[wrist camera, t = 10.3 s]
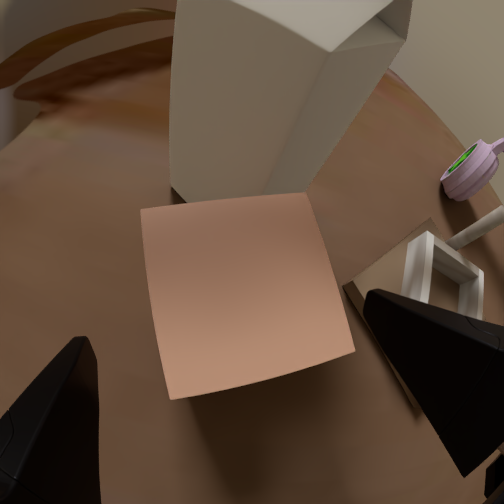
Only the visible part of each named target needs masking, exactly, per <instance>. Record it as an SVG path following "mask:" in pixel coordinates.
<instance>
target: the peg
mask: <svg viewBox="0 0 504 504" xmlns="http://www.w3.org/2000/svg"><path fill="white" fill-rule="evenodd" d="M140 211H141V224H142V236H143V246H144V255H145V264H146V272H147V280H148V287H149V294H150V301H151V307H152V313H153V319H154V325H155V331H156V336H157V342H158V347H159V352H160V357H161V361H162V366H163V371H164V375H165V380H166V384H167V388H168V392H169V396H170V400H173V399H179V398H185V397H190V396H196V395H201V394H206V393H211V392H216V391H221V390H226V389H230V388H235V387H239V386H243V385H247V384H251V383H255V382H259V381H263V380H267V379H270V378H274V377H278V376H281V375H285V374H288V373H292V372H295V371H298V370H302V369H305V368H308V367H311V366H314V365H317V364H320V363H323V362H326V361H329V360H332V359H335V358H338V357H341V356H344V355H346V354H349V353H352V352H354V351H355V348H354V344H353V340H352V336H351V332H350V329H349V325H348V321H347V318H346V314H345V311H344V307H343V304H342V300H341V297H340V293H339V290H338V287H337V283H336V280H335V277H334V273H333V270H332V267H331V264H330V261H329V257H328V254H327V251H326V248H325V245H324V242H323V239H322V236H321V233H320V230H319V227H318V224H317V221H316V219H315V216H314V213H313V210H312V207H311V204H310V202H309V199H308V196H307V193H306V192H302V193H287V194H274V195H262V196H250V197H240V198H230V199H220V200H210V201H201V202H193V203H184V204H176V205H169V206H161V207H154V208H146V209H140Z"/></svg>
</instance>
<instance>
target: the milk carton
mask: <svg viewBox="0 0 504 504" xmlns="http://www.w3.org/2000/svg"><path fill="white" fill-rule="evenodd" d="M411 8H412V0H177V8H176V17H175V27H174V38H173V51H172V67H171V87H170V125H169V158H170V184H171V186H172V187H173V188H174V190H175V191H176V192H177V193H178V194H179V195H180V196H181V197H182V198H183V199H184V200H185V201H186V202H187V203H193V202H201V201H210V200H220V199H230V198H240V197H250V196H262V195H274V194H287V193H302V192H305V191H306V189H307V188H308V186H309V185H310V183H311V182H312V180H313V179H314V178H315V176H316V175H317V173H318V172H319V170H320V169H321V167H322V166H323V164H324V163H325V161H326V160H327V158H328V157H329V155H330V154H331V152H332V151H333V149H334V148H335V146H336V145H337V144H338V142H339V141H340V139H341V138H342V136H343V135H344V133H345V132H346V130H347V129H348V127H349V126H350V124H351V123H352V121H353V120H354V118H355V117H356V115H357V114H358V112H359V111H360V109H361V108H362V106H363V105H364V103H365V102H366V100H367V99H368V97H369V96H370V94H371V93H372V91H373V90H374V88H375V87H376V85H377V84H378V82H379V81H380V79H381V78H382V76H383V75H384V73H385V72H386V70H387V69H388V67H389V65H390V64H391V62H392V61H393V59H394V58H395V56H396V55H397V53H398V52H399V50H400V48H401V47H402V45H403V44H404V43H405V41H406V38H407V34H408V27H409V21H410V15H411Z"/></svg>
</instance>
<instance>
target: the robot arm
mask: <svg viewBox="0 0 504 504" xmlns="http://www.w3.org/2000/svg"><path fill="white" fill-rule="evenodd" d="M363 316H364V318H365V320H366V322H367V324H368V325H369V327H370V329H371V331H372V333H373V334H374V336H375V338H376V340H377V342H378V343H379V345H380V347H381V349H382V350H383V352H384V353H385V355H386V356H387V358H388V359H389V361H390V362H391V363H392V365H393V366H394V368H395V369H396V371H397V372H398V374H399V375H400V377H401V378H402V380H403V381H404V383H405V384H406V386H407V387H408V389H409V390H410V392H411V393H412V395H413V396H414V398H415V400H416V401H417V403H418V404H419V406H420V407H421V409H422V410H423V412H424V414H425V415H426V417H427V418H428V420H429V421H430V423H431V425H432V426H433V428H434V429H435V431H436V433H437V434H438V436H439V438H440V440H441V441H442V443H443V444H444V446H445V448H446V449H447V451H448V453H449V455H450V456H451V458H452V460H453V461H454V463H455V465H456V466H457V468H458V470H459V472H460V473H461V475H462V476H463V477H464V478H465V477H466V476H467V475H468V474H470V473H471V472H472V471H473V470H474V469H476V468H477V467H478V466H479V465H480V464H481V463H482V462H483V461H484V460H486V459H487V458H488V457H489V456H490V455H491V454H492V453H493V452H494V451H495V450H496V449H498V450H499V451H500V452H501V453H500V454H499V455H498V457H497V458H496V459H495V460H494V461H493V462H492V463H491V464H490V465H489V466H488V467H487V468H486V479H485V491H484V495H485V497H486V498H487V500H486V501H485V502H484V503H483V504H504V326H501V325H497V324H493V323H489V322H485V321H482V320H479V319H475V318H472V317H469V316H466V315H465V316H464V315H462V314H459V313H456V312H453V311H450V310H446V309H443V308H440V307H437V306H434V305H430V304H427V303H424V302H421V301H418V300H414V299H411V298H408V297H405V296H402V295H398V294H395V293H392V292H389V291H386V290H382V289H379V288H376V289H372V290H369V291H368V292H367V294H366V298H365V302H364V306H363ZM0 504H101V494H100V479H99V394H98V370H97V359H96V356H95V353H94V351H93V349H92V346H91V344H90V341H89V339H88V337H86V336H78V337H74V338H72V340H71V341H70V342H69V343H68V344H67V345H66V346H65V347H64V348H63V349H62V350H61V351H60V352H59V353H58V354H57V355H56V356H55V357H54V358H53V359H52V361H51V362H50V363H49V364H48V365H47V366H46V367H45V368H44V369H43V370H42V371H41V372H40V374H39V375H38V376H37V377H36V378H35V379H34V380H33V381H32V382H31V384H30V385H29V386H28V387H27V388H26V389H25V390H24V392H23V393H22V394H21V395H20V396H19V397H18V398H17V400H16V401H15V402H14V403H13V404H12V405H11V407H10V408H9V410H7V411H6V413H5V414H4V415H3V416H2V417H1V419H0Z"/></svg>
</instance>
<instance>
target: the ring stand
mask: <svg viewBox="0 0 504 504" xmlns="http://www.w3.org/2000/svg"><path fill="white" fill-rule="evenodd" d="M503 222H504V206H502V205H501V206H499V207H498V208H496V209H495V210H493V211H492V212H490V213H489V214H488V215H486V216H484V217H483V218H481V219H480V220H478V221H477V222H475V223H474V224H472V225H471V226H469V227H468V228H466V229H464V230H463V231H461V232H460V233H458V234H456V235H455V236H453V237H451V238H450V239H448V240H447V241H445V240H444V238H443V236H442V235H441V233H440V232H439V230H438V228H437V227H436V225H435V224H434V222H433V221H432V219H431V217H430V218H429V219H428V220H426V221H425V222H424V223H422V224H421V225H420V226H418V227H417V228H416V229H415V230H414V231H412V232H411V233H410V234H409V235H408V236H406V237H405V238H404V239H403V240H401V241H400V242H399V243H398V244H396V245H395V246H394V247H393V248H391V249H390V250H389V251H388V252H386V253H385V254H384V255H383V256H381V257H380V258H379V259H378V260H376V261H375V262H374V263H372V264H371V265H370V266H368V267H367V268H366V269H364V270H363V271H362V272H361V273H359V274H358V275H357V276H355V277H354V278H352V279H351V280H350V281H348V282H347V283H346V284H344V285H343V288H344V290H345V291H346V293H347V294H348V296H349V298H350V299H351V301H352V302H353V304H354V306H355V307H356V309H357V310H358V312H359V314H360V315H361V317H362V318H363V320H364V322H365V323H366V325H367V327H368V328H369V330H370V332H371V333H372V331H371V329H370V327H369V325H368V324H367V322H366V320H365V318H364V316H363V306H364V302H365V298H366V294H367V292H368V291H369V290H372V289H376V288H379V289H382V290H386V291H389V292H392V293H395V294H398V295H402V296H405V297H408V298H411V299H414V300H418V301H421V302H424V303H427V304H430V305H434V306H437V307H440V308H443V309H446V310H450V311H453V312H456V313H459V314H462V315H464V316H465V315H466V316H469V317H472V318H475V319H479V320H482V321H485V320H486V319H485V316H484V314H483V287H484V272H483V271H481V270H480V269H479V268H478V267H476V266H475V265H474V264H473V263H471V262H470V261H469V260H467V259H466V258H465V257H463V256H462V255H461V254H459V253H458V252H457V251H456V250H458V249H460V248H462V247H463V246H465V245H467V244H469V243H470V242H472V241H474V240H476V239H477V238H479V237H481V236H482V235H484V234H486V233H487V232H489V231H491V230H492V229H494V228H495V227H497V226H499V225H500V224H502V223H503ZM372 335H373V337H374V338H375V336H374V334H373V333H372ZM375 340H376V338H375ZM376 342H377V340H376ZM377 343H378V342H377ZM378 345H379V343H378ZM379 347H380V345H379ZM380 348H381V347H380ZM381 350H382V349H381ZM382 352H383V350H382ZM383 354H384V355H385V353H384V352H383ZM385 357H386V359H387V361H388V362H389V364H390V366H391V367H392V369H393V371H394V373H395V375H396V376H397V378H398V380H399V382H400V383H401V385H402V387H403V389H404V391H405V393H406V394H407V396H408V398H409V400H410V402H411V404H412V406H413V407H414V408H421V407H420V406H419V404H418V403H417V401H416V400H415V398H414V396H413V395H412V393H411V392H410V390H409V389H408V387H407V386H406V384H405V383H404V381H403V380H402V378H401V377H400V375H399V374H398V372H397V371H396V369H395V368H394V366H393V365H392V363H391V362H390V361H389V359H388V358H387V356H386V355H385Z"/></svg>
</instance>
